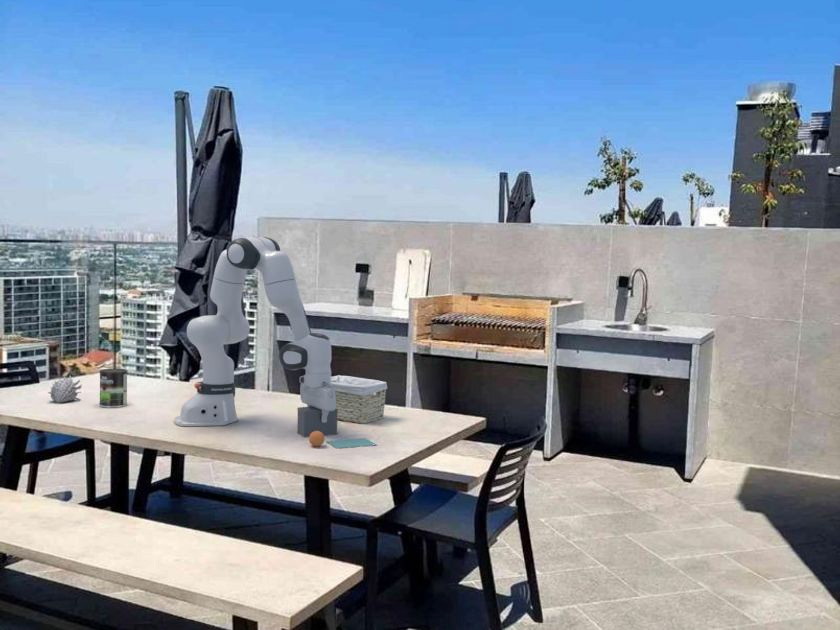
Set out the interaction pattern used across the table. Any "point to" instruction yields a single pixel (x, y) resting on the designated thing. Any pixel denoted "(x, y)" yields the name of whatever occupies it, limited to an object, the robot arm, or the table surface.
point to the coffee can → (113, 388)
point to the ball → (316, 438)
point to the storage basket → (359, 398)
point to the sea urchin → (64, 390)
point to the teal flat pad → (351, 443)
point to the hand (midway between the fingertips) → (317, 419)
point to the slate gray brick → (315, 421)
